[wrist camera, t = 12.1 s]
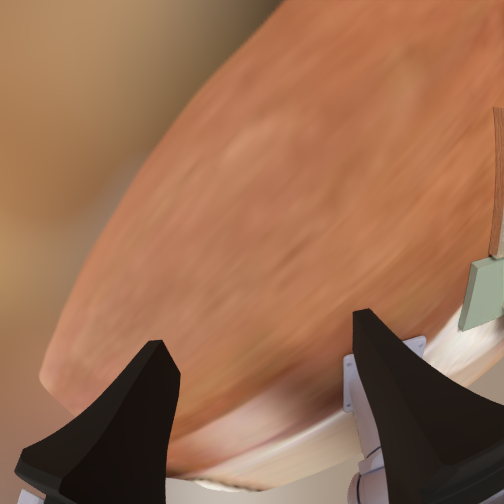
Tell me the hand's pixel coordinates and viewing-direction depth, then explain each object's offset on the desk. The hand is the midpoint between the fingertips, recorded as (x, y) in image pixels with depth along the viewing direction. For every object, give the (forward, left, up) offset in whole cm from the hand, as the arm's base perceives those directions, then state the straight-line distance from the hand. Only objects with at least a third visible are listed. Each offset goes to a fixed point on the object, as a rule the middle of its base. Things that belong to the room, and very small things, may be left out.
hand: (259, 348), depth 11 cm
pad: (-9, -24, -10) cm, 27 cm away
